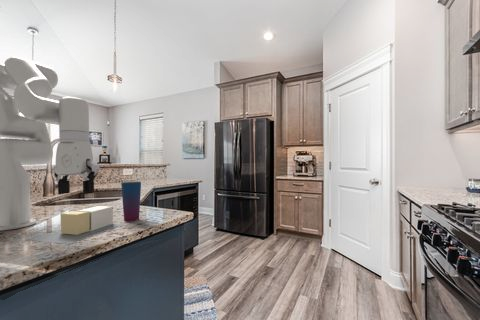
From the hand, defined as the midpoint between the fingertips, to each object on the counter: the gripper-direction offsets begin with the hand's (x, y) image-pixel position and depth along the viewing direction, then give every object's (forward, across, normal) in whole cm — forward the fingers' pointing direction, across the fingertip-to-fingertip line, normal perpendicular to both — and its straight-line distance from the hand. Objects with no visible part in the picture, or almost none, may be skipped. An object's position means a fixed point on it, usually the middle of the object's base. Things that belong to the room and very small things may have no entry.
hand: (76, 193), depth 70 cm
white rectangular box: (+12, -1, +7) cm, 14 cm away
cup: (+13, +5, +17) cm, 22 cm away
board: (+13, -1, +2) cm, 13 cm away
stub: (+12, -1, 0) cm, 12 cm away
